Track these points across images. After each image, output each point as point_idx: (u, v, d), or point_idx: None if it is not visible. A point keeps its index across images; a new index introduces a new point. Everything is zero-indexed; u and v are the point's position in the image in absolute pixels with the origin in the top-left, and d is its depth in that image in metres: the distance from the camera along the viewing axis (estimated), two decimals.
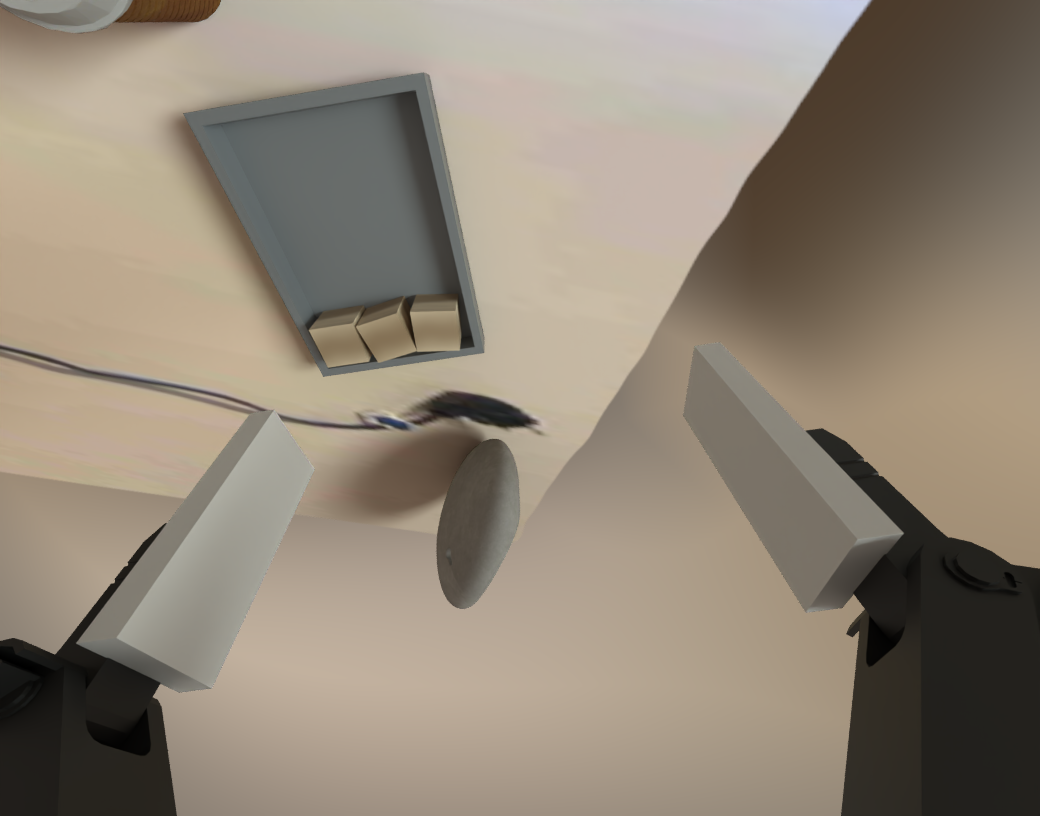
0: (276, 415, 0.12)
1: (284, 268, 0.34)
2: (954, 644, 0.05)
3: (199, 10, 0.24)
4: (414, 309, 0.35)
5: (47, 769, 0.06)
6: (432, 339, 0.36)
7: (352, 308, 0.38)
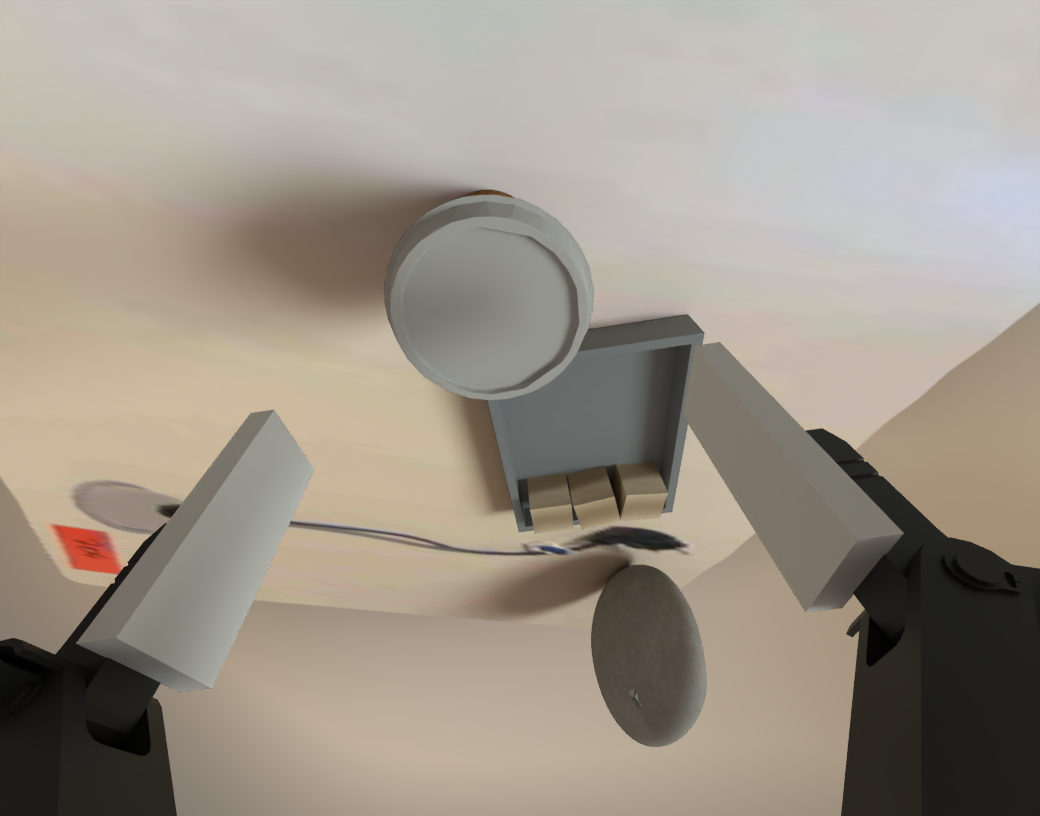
0: (276, 415, 0.12)
1: (511, 455, 0.37)
2: (954, 644, 0.05)
3: None
4: (628, 491, 0.37)
5: (48, 769, 0.06)
6: (638, 512, 0.39)
7: (556, 477, 0.40)
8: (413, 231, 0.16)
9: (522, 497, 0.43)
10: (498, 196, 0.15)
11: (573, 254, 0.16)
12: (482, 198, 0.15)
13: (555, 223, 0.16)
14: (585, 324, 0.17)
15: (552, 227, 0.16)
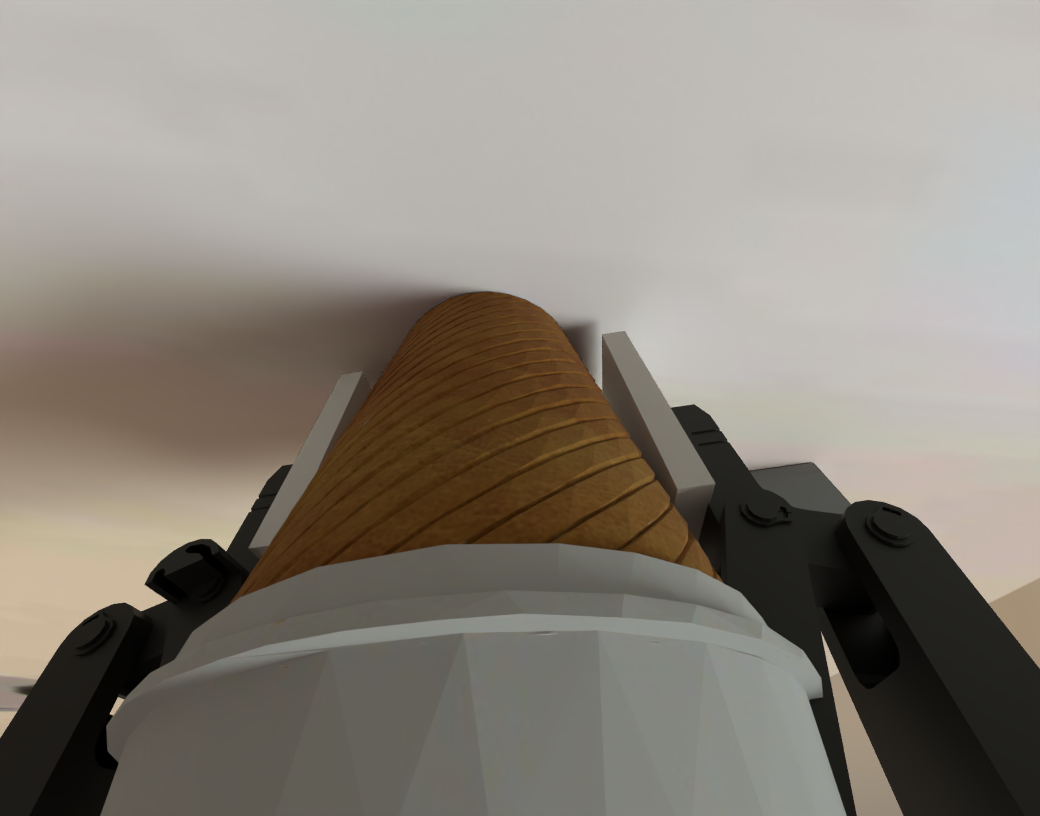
0: (364, 376, 0.13)
1: None
2: (750, 577, 0.06)
3: None
4: None
5: None
6: None
7: None
8: (155, 704, 0.04)
9: None
10: (525, 619, 0.03)
11: (819, 752, 0.04)
12: (446, 630, 0.03)
13: (755, 648, 0.04)
14: None
15: (753, 687, 0.04)
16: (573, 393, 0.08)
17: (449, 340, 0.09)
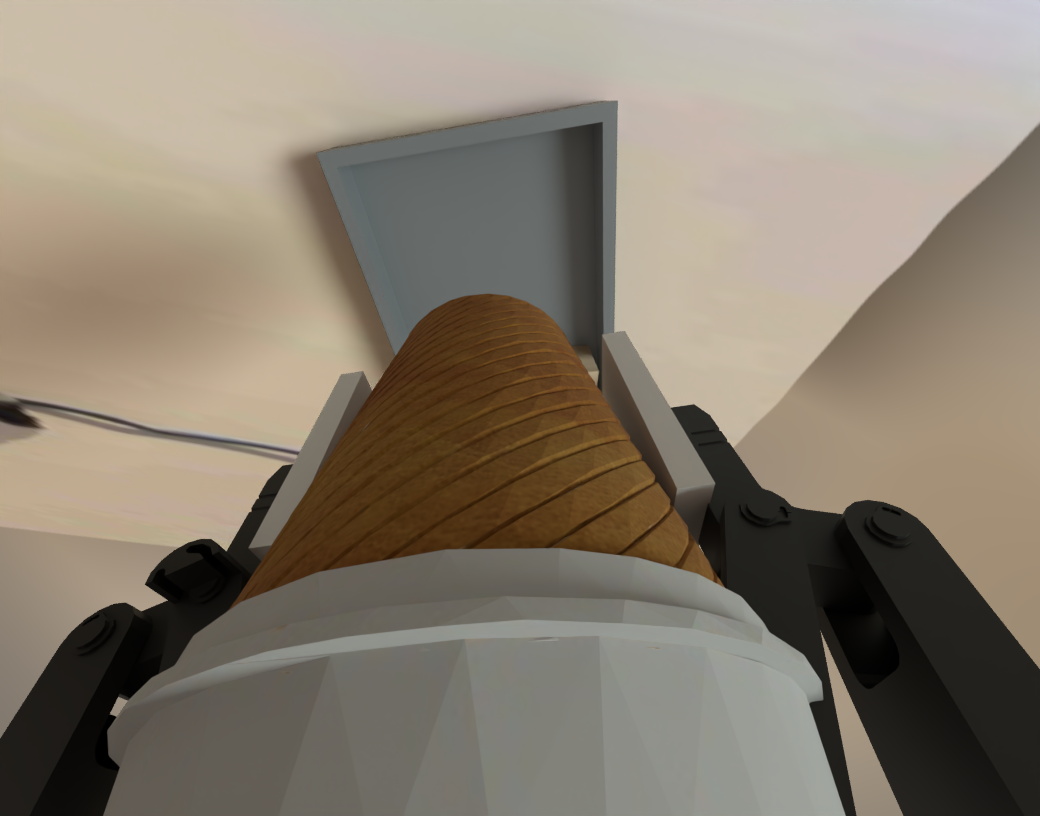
0: (364, 376, 0.13)
1: (400, 323, 0.29)
2: (750, 577, 0.06)
3: None
4: None
5: None
6: None
7: None
8: (156, 709, 0.04)
9: None
10: (526, 626, 0.03)
11: (819, 757, 0.04)
12: (447, 636, 0.03)
13: (756, 653, 0.04)
14: None
15: (754, 692, 0.04)
16: (573, 395, 0.08)
17: (449, 342, 0.09)
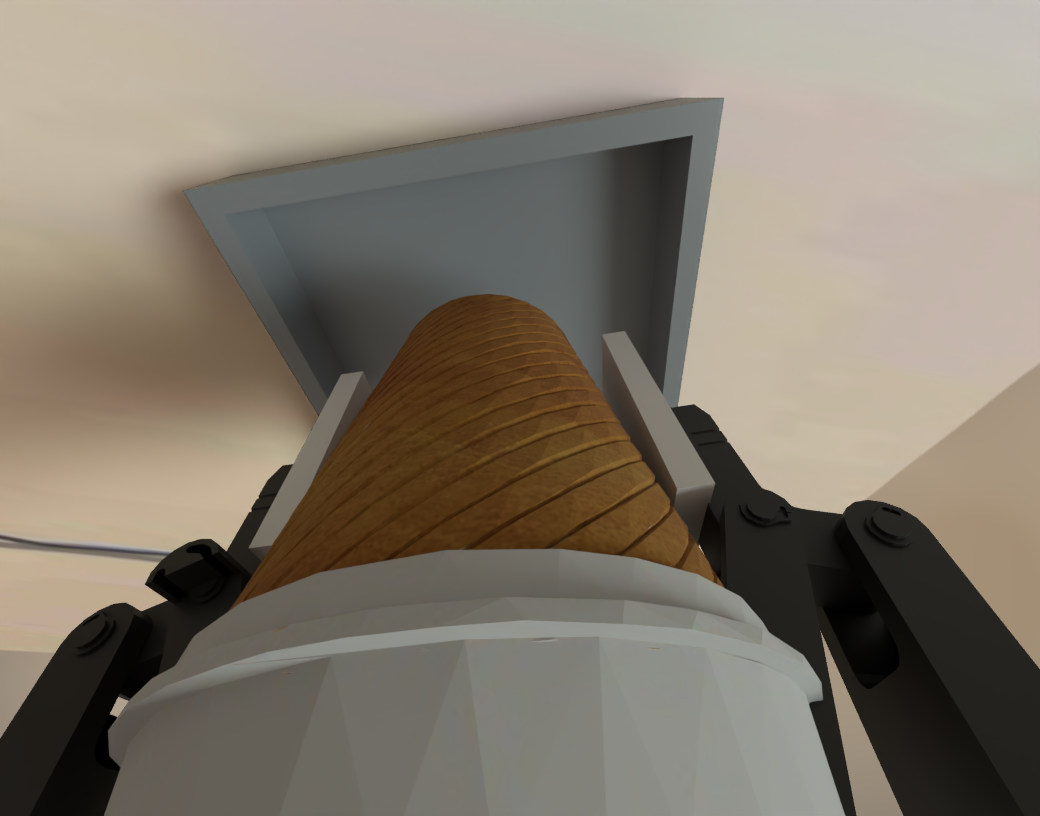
0: (364, 376, 0.13)
1: None
2: (749, 577, 0.06)
3: None
4: None
5: None
6: None
7: None
8: (157, 709, 0.04)
9: None
10: (526, 626, 0.03)
11: (819, 757, 0.04)
12: (448, 636, 0.03)
13: (756, 653, 0.04)
14: None
15: (753, 692, 0.04)
16: (573, 396, 0.08)
17: (449, 343, 0.09)
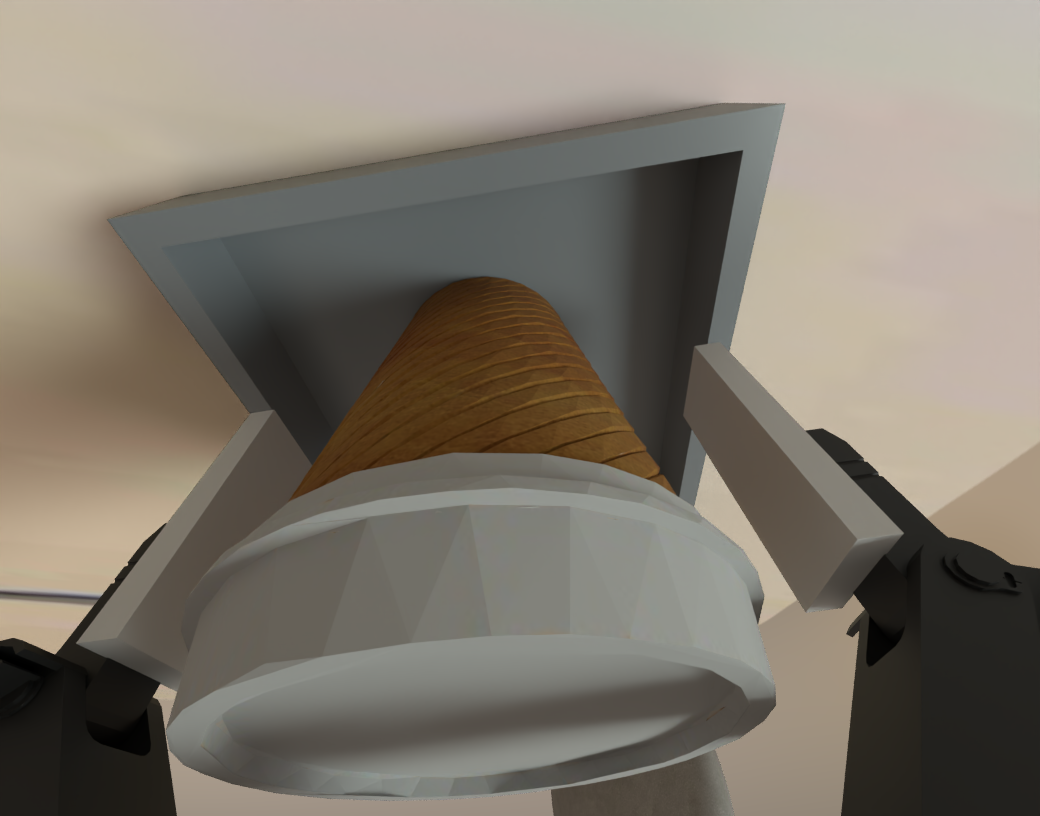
0: (276, 415, 0.12)
1: None
2: (954, 644, 0.05)
3: None
4: None
5: (48, 768, 0.06)
6: None
7: None
8: (230, 573, 0.05)
9: None
10: (514, 492, 0.04)
11: (748, 619, 0.05)
12: (456, 500, 0.04)
13: (696, 533, 0.05)
14: (745, 732, 0.06)
15: (692, 559, 0.05)
16: (562, 359, 0.09)
17: (452, 316, 0.10)
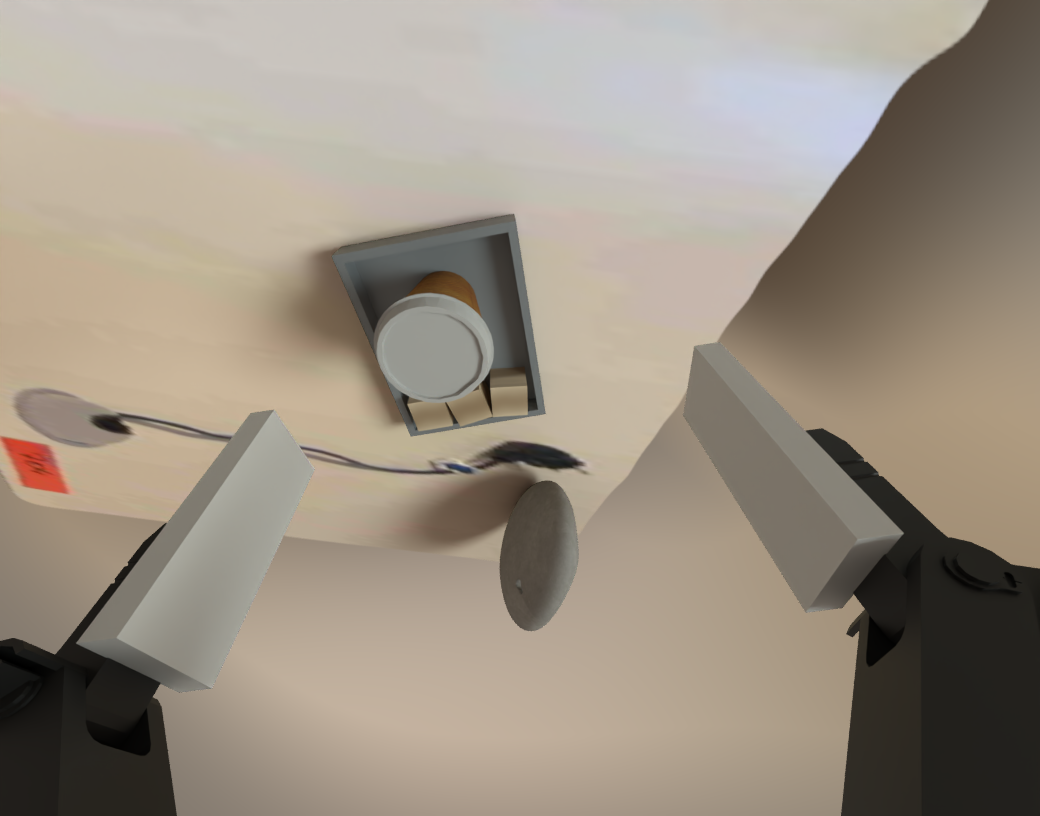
0: (276, 415, 0.12)
1: None
2: (954, 644, 0.05)
3: None
4: (492, 385, 0.43)
5: (48, 768, 0.06)
6: (506, 407, 0.44)
7: None
8: (387, 312, 0.29)
9: None
10: (431, 294, 0.29)
11: (474, 321, 0.30)
12: (423, 295, 0.29)
13: (463, 305, 0.29)
14: (486, 357, 0.31)
15: (461, 307, 0.29)
16: (456, 288, 0.34)
17: (428, 280, 0.35)
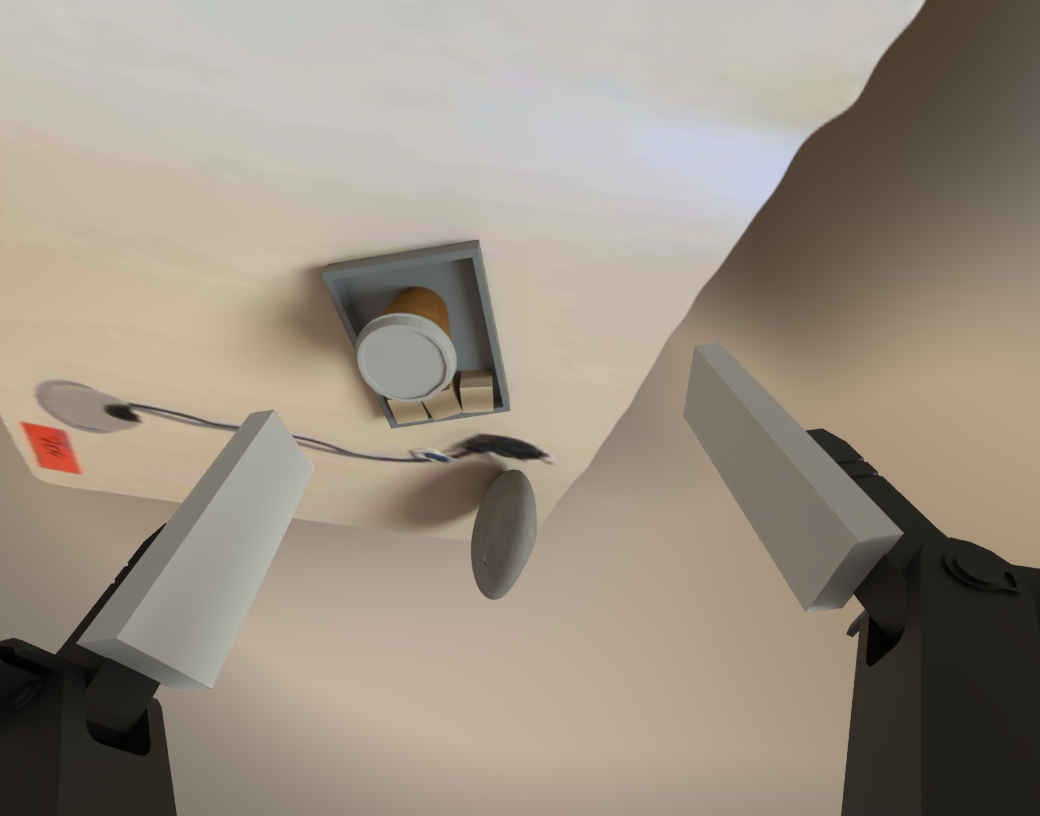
0: (276, 415, 0.12)
1: None
2: (954, 644, 0.05)
3: None
4: (462, 385, 0.49)
5: (48, 768, 0.06)
6: (474, 404, 0.50)
7: None
8: (366, 328, 0.35)
9: None
10: (402, 314, 0.35)
11: (438, 336, 0.36)
12: (395, 315, 0.35)
13: (430, 323, 0.36)
14: (449, 366, 0.37)
15: (428, 325, 0.35)
16: (426, 305, 0.40)
17: (403, 297, 0.41)
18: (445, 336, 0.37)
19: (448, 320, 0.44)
